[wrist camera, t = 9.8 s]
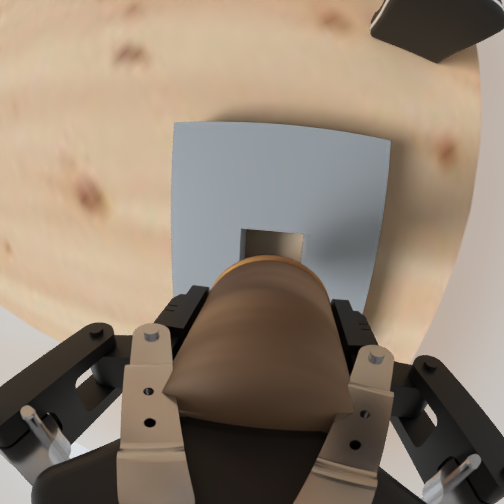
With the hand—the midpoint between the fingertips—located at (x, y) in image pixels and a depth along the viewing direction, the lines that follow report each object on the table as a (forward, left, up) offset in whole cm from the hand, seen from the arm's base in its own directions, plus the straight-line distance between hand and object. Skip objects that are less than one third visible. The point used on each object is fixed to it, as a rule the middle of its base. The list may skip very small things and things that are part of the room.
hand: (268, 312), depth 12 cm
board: (0, 0, -10) cm, 10 cm away
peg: (0, 0, -3) cm, 3 cm away
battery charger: (+10, +20, -10) cm, 24 cm away
